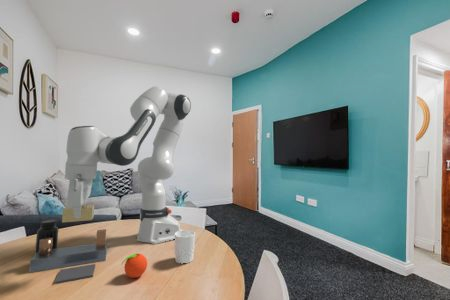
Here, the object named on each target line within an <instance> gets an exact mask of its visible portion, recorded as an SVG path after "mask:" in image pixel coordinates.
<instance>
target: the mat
mask: <svg viewBox="0 0 450 300" xmlns="http://www.w3.org/2000/svg"><path fill="white" fill-rule="evenodd" d="M95 269H96V263H91V264H86V265H81V266H80V265H79V266H76V267H75V266H74V267H70V268H68V267H66V268H62V269H60V270H59V272H58V274H57V276H56V278H55V280H54V282H53V285H57V284H61V283H67V282H72V281H77V280H83V279H89V278H93V276H94V273H95Z"/></svg>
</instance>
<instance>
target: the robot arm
mask: <svg viewBox="0 0 450 300" xmlns="http://www.w3.org/2000/svg"><path fill="white" fill-rule="evenodd" d="M191 106H192V103H191V100H190V98H189V96H187V95H184V94H178V93H172V92H166V91H165V90H164V89H163V88H162V87H159V86H152V87H150V88H148V89H147V90H146V91H144V92H143V93H142V94H141V95H139V96H138V97H136V99H135V100H134V101H133V103H132V104H131V106H130V109H129V110H130V111H129V112H130V115H131V117H132V119H133V120H134V122H133V124H132V125H131V126H130V128H128V130H127V132H125V133H124V134H122V135H119V136H115V137H110V136H108V135H106V134H105V133H103V132H101V131H100V130H99V129H98V128H97V127H96V126H94V125H82V126H80V125H79V126H75V127H71V129H69V132H68V135H67V141H66V152H65V153H66V155H67V156H66V157H67V158H66V162H65V166H64V167H65V171H64V179H65V180H68V181H69V184H68V190H67V201H66V203H67V206H68V207H73V211H74V218H80V217H81V207H82V205H86V202H87V200H88V198H89V197H90V196H91V193H92V187H93V181H94V180H95V179H97V176H98V175H97V173H98V162H99V163H101V164H107V165H117V166H122V167H123V166H125V167H126V166H128V165H131V164H132V163H133V162H135V160H136V159H137V157H138V155H139V151H140V149H141V145H142V144H143V142H144V141H145V139H146V137H147V136H148V135H149V133H150V132H151V130H152V129H153V126H154V125H155V123H156V120H157V118H158V117H159V115H163V116H164V117H163V120H162V121H161V124H160V126H159V127H158V129H157V132H156V135H155V138H153V139H154V140H153V142H152V145H153V149H152V154H151V156H148V157H145V158H143V159H141V160H140V161H139V162H138V164H137V172H138V174H139V180H140V187H141V207H140V212H139V221H140V224H139V228H138V229H139V230H138V231H137V232H138V233H137V236H136V240H137V241H139V242H141V243H149V244H152V245H155V244H156V245H157V244H161V243H165V241H166V242H170V241H169V240H171V241H174V240H173V239H175V233H176V232H177V231H181V230H183V229H182V228H181V225H180V222H179V221H178V220H177V219H176V218H174V217H173V216H171V213H172V209H171V208H169V207H167V206H166V194H167V193H166V189H165V187H164V183H163V181H165V180H167V179H170V178H171V177H172V176H173V174H174V171H175V166H174V154H175V149H176V146H177V144H178V141H179V139H180V137H181V132H182V130H183V129H182V128H183V125H184V119H186V117H187V116H188V115H189V113H190V112H191V109H192V107H191Z"/></svg>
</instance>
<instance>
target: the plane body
mask: <svg viewBox="0 0 450 300" xmlns="http://www.w3.org/2000/svg"><path fill="white" fill-rule="evenodd" d="M106 239H107V229H106V228H105V229H98V230H97V231H96V242H95V243H90V244H89V243H88V244H80V245H72V246H66V247H57V248H56V249H52V244H53V238H44V239H41V240H40V242H39V251H38V252H37V253H35V254H34V255H33V257H31V259H30V260H29V273H35V272H37V273H38V272H41V271H42V272H43V271H48V270H54V269H60V268H62V269H63V268H68V267H73V266H74V267H75V266H80V265H85V264H86V265H87V264H94V263H98V262H105V261H106V259H107V254H108V241H107V240H106Z"/></svg>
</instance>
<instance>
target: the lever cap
mask: <svg viewBox="0 0 450 300" xmlns="http://www.w3.org/2000/svg"><path fill="white" fill-rule="evenodd" d="M94 214H95V204H85V205H82V207H81V217H80V218H74V211H73V207H68V205H67V206H65V207H64V208H63V209H62V215H61V216H62V219H61V222H62V224H63V223H73V222H74V223H75V222H83V221H85V222H86V221H92V220H93V219H94V217H95V215H94Z"/></svg>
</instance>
